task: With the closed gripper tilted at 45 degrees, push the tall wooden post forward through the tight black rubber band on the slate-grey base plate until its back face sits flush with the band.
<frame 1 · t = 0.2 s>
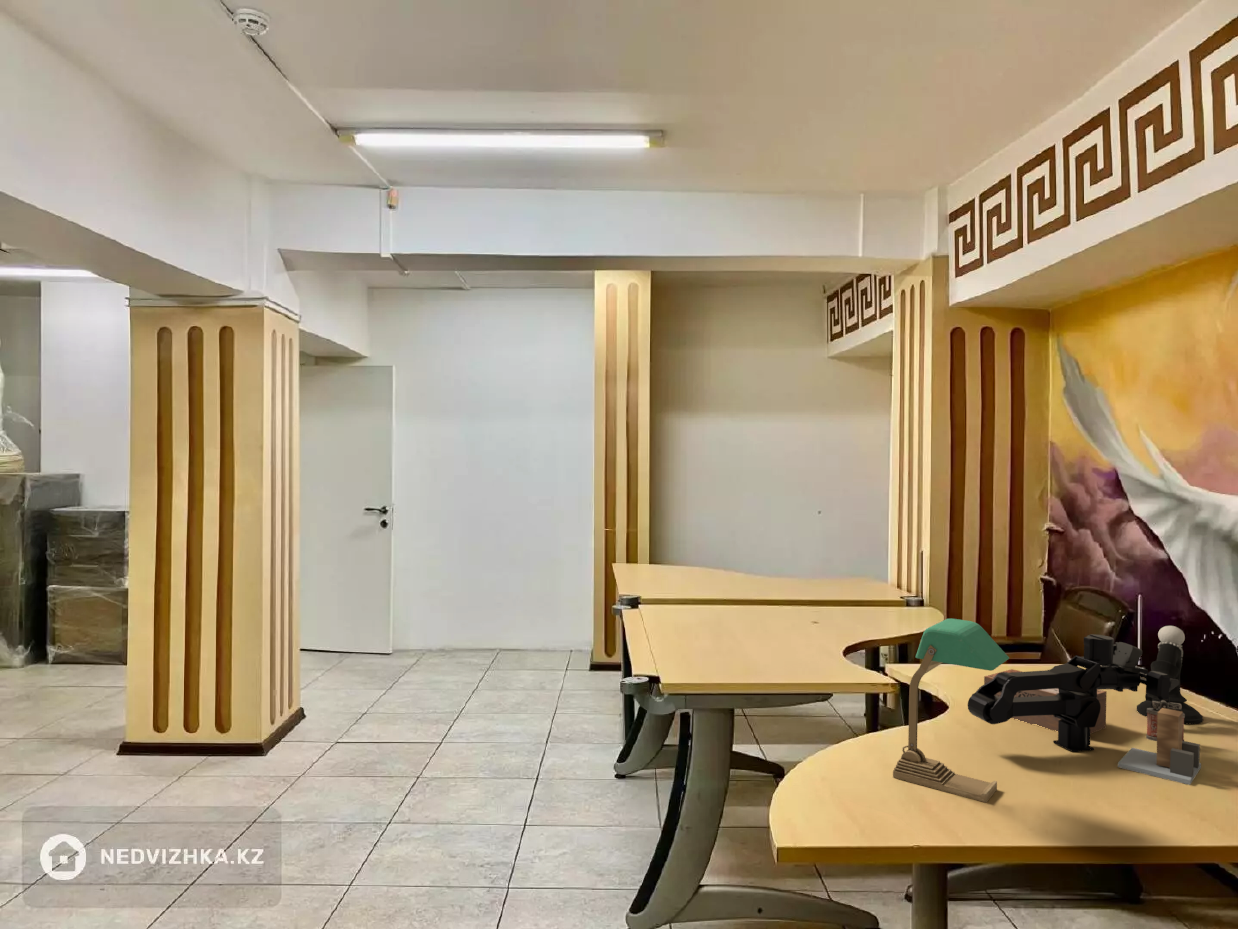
hand: (1162, 677, 200), 16 cm above the table, tool horizontal, fingers open, 9 cm apart
lighter: (1164, 741, 201), on the table
banker's lamp: (947, 785, 172), on the table
sculpture: (1165, 719, 219), on the table
tall wooden post: (1169, 738, 182), point 7 cm above the table, slide at 0.0 cm
tissue box cover: (1042, 720, 217), on the table
band housing: (1159, 767, 183), on the table
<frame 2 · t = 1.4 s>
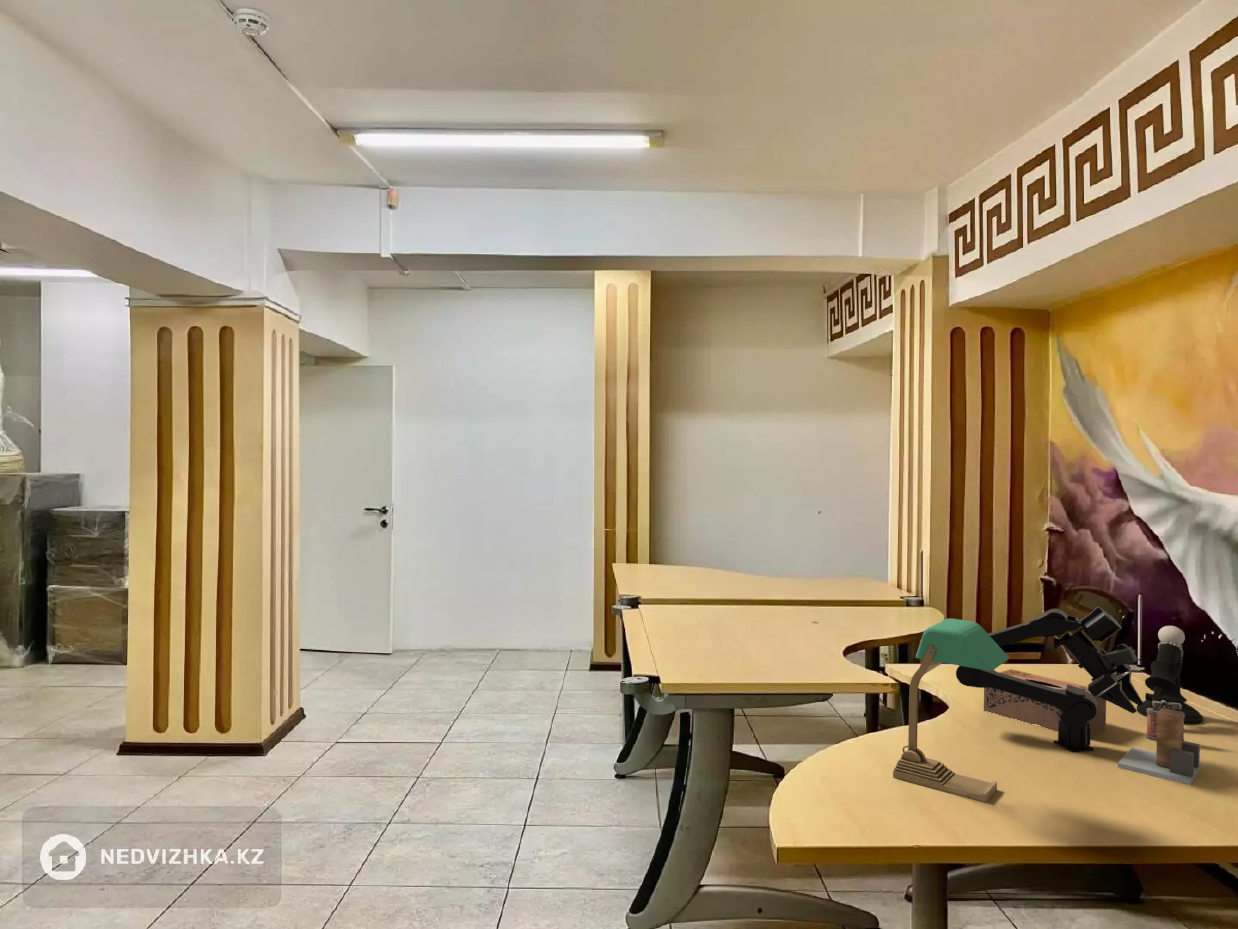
hand: (1138, 708, 187), 13 cm above the table, tool tilted 45°, fingers open, 8 cm apart
nothing on the table moved.
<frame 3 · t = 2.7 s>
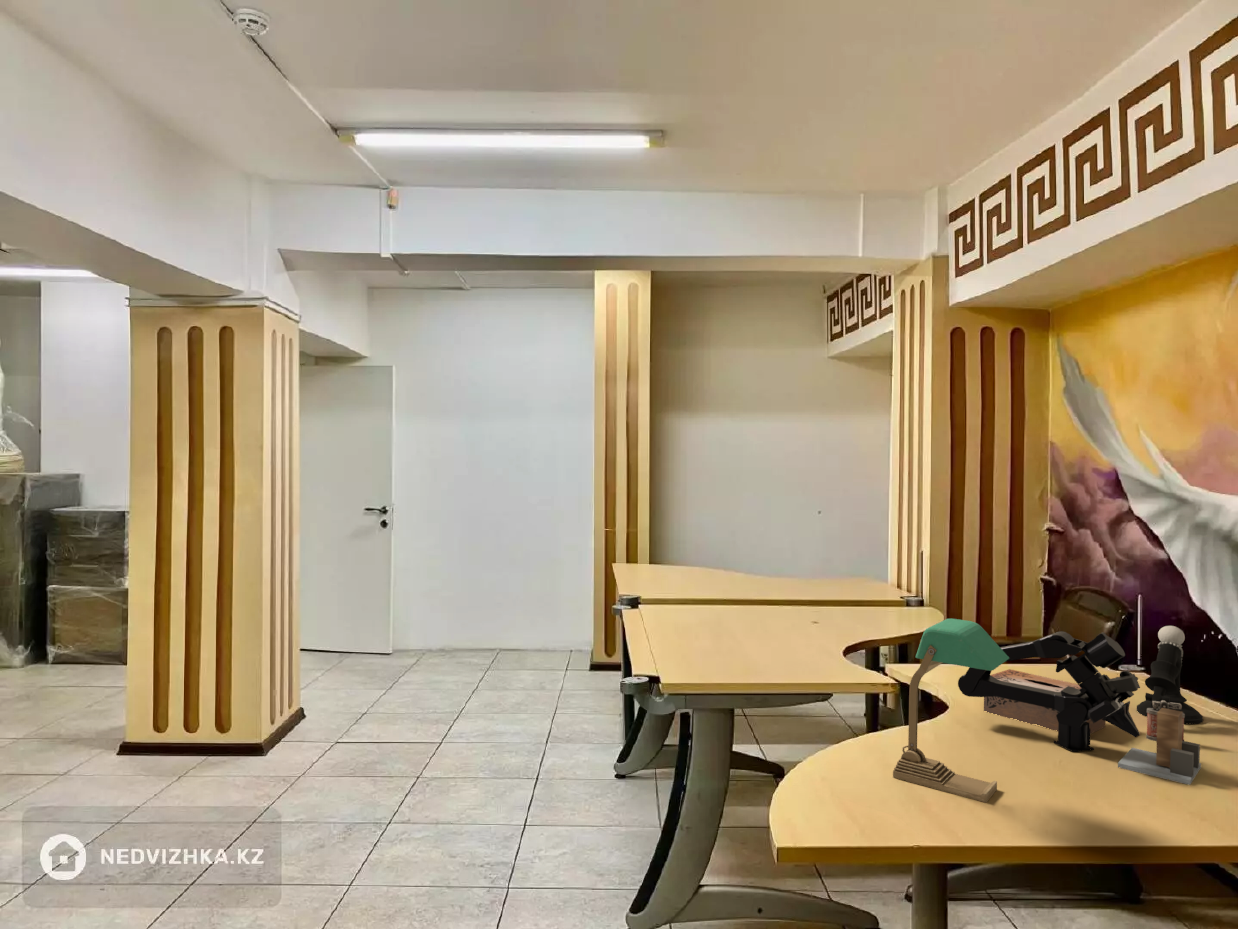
hand: (1138, 736, 186), 6 cm above the table, tool tilted 45°, fingers closed
nothing on the table moved.
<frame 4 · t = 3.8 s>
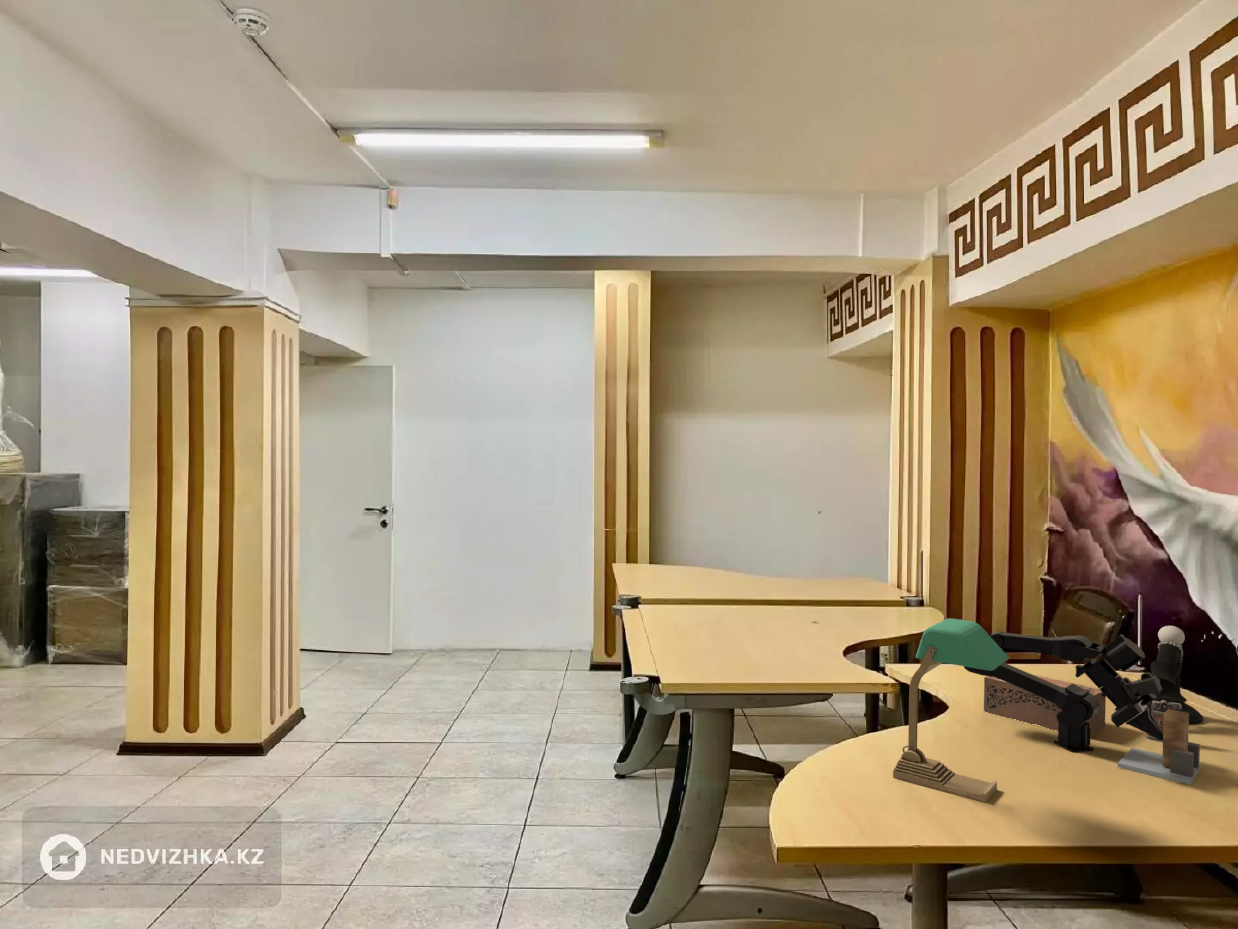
hand: (1163, 739, 183), 7 cm above the table, tool tilted 45°, fingers closed, pressing on tall wooden post
tall wooden post: (1175, 739, 181), point 7 cm above the table, slide at 1.2 cm, touching gripper
everything else where it was.
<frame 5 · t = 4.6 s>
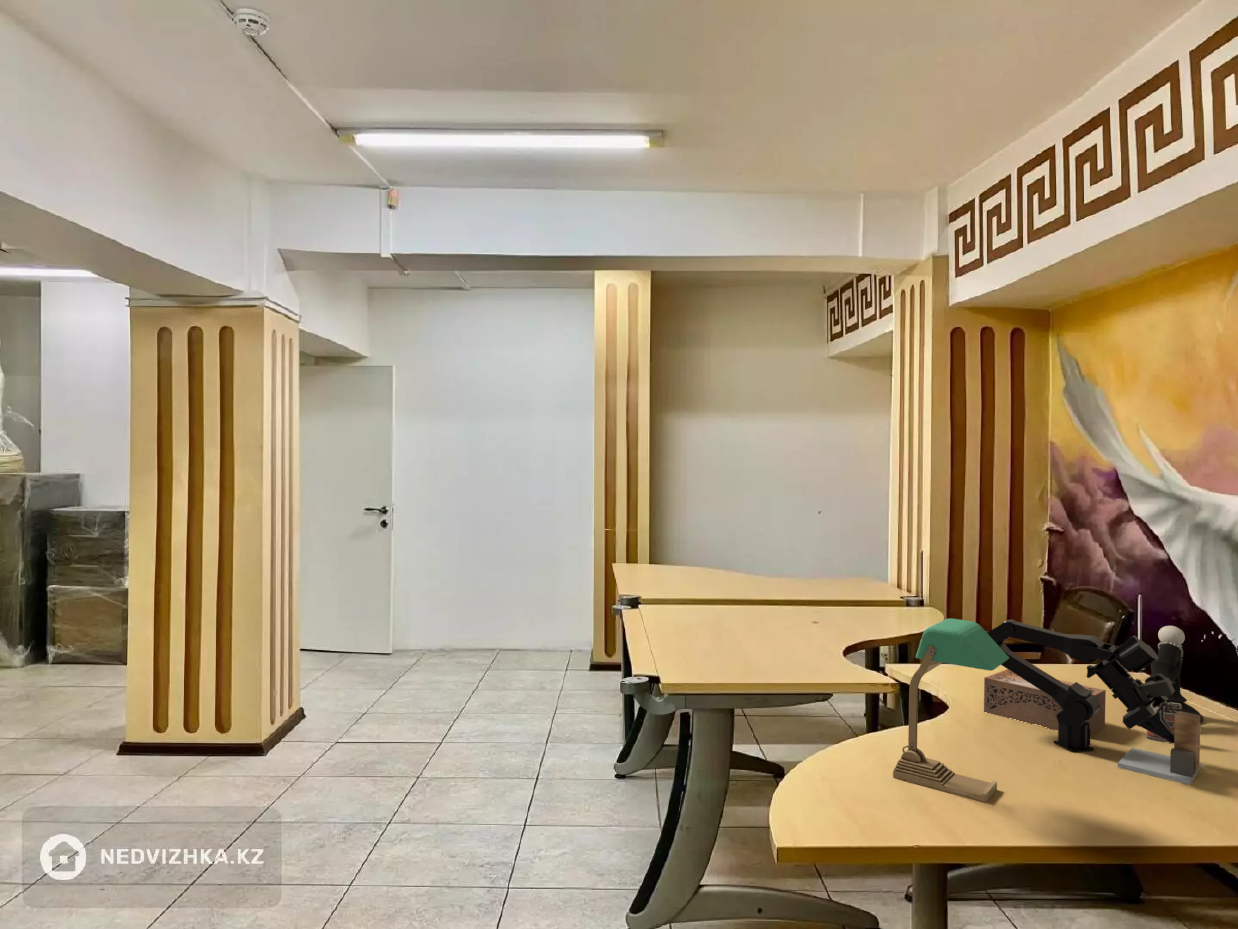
hand: (1175, 742, 181), 7 cm above the table, tool tilted 45°, fingers closed, pressing on tall wooden post
tall wooden post: (1187, 742, 180), point 7 cm above the table, slide at 3.3 cm, touching gripper
everything else where it was.
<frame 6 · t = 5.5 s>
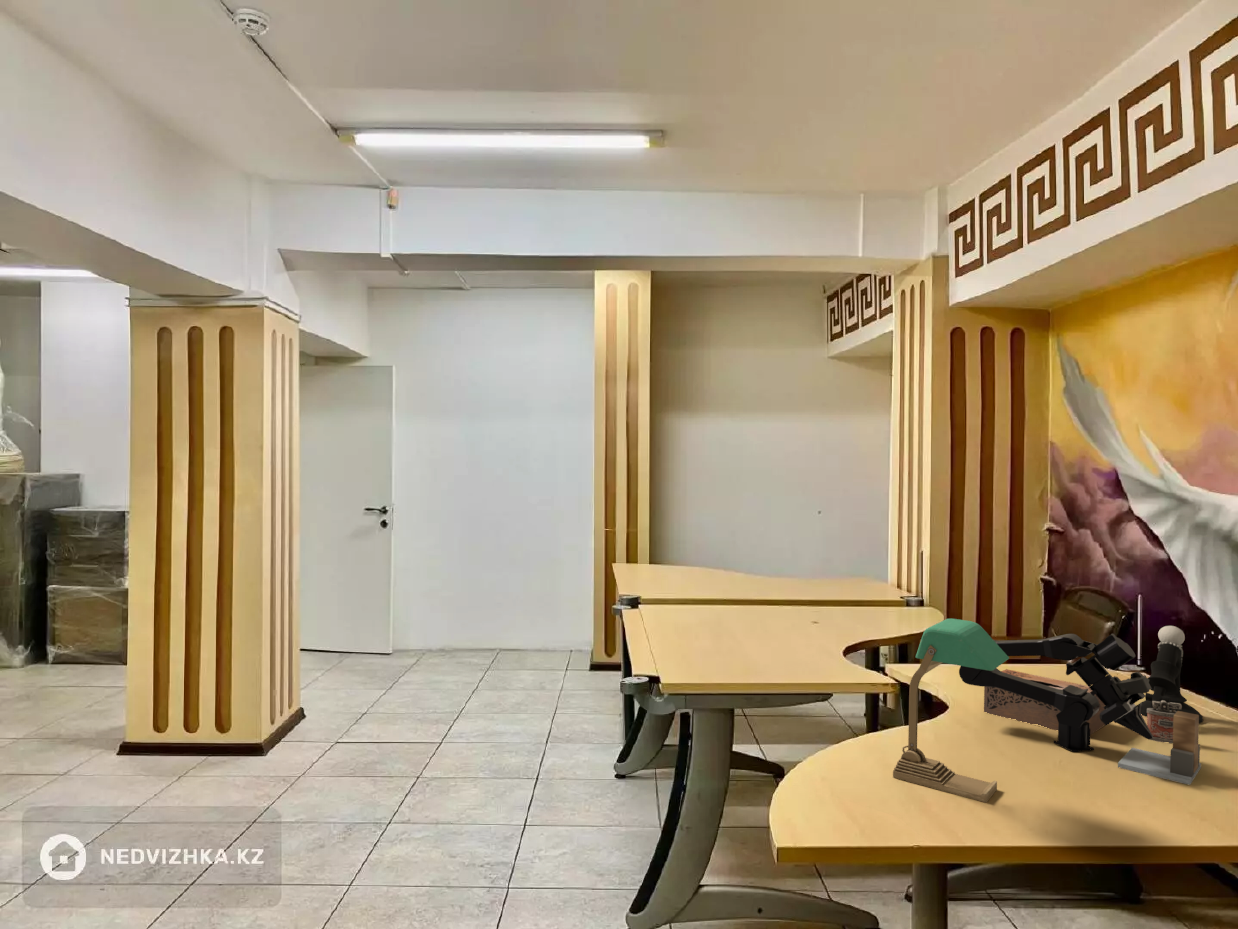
hand: (1151, 738, 184), 6 cm above the table, tool tilted 45°, fingers closed
tall wooden post: (1185, 741, 180), point 7 cm above the table, slide at 3.0 cm
everything else where it was.
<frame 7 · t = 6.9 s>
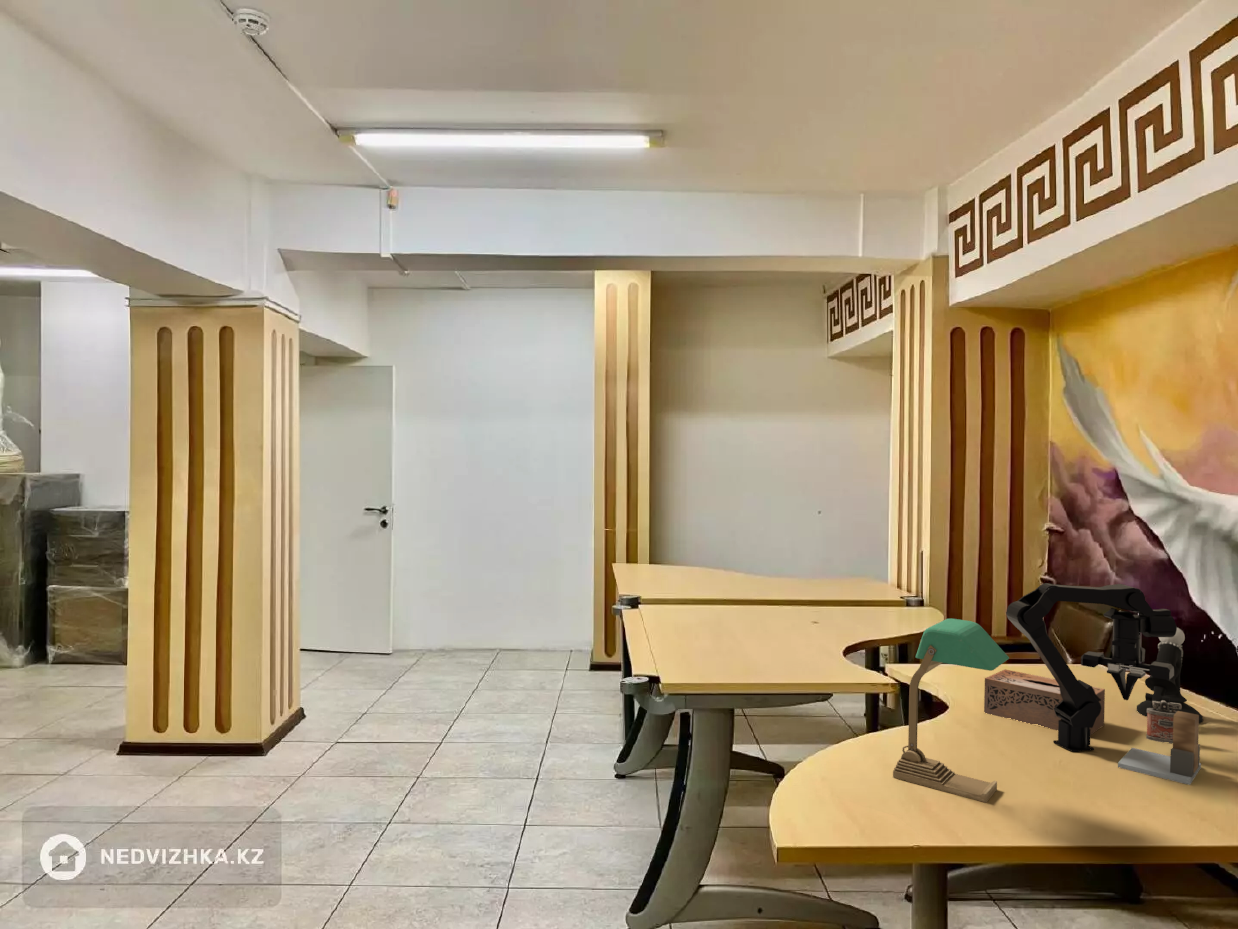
hand: (1126, 699, 195), 12 cm above the table, tool pointing down, fingers closed
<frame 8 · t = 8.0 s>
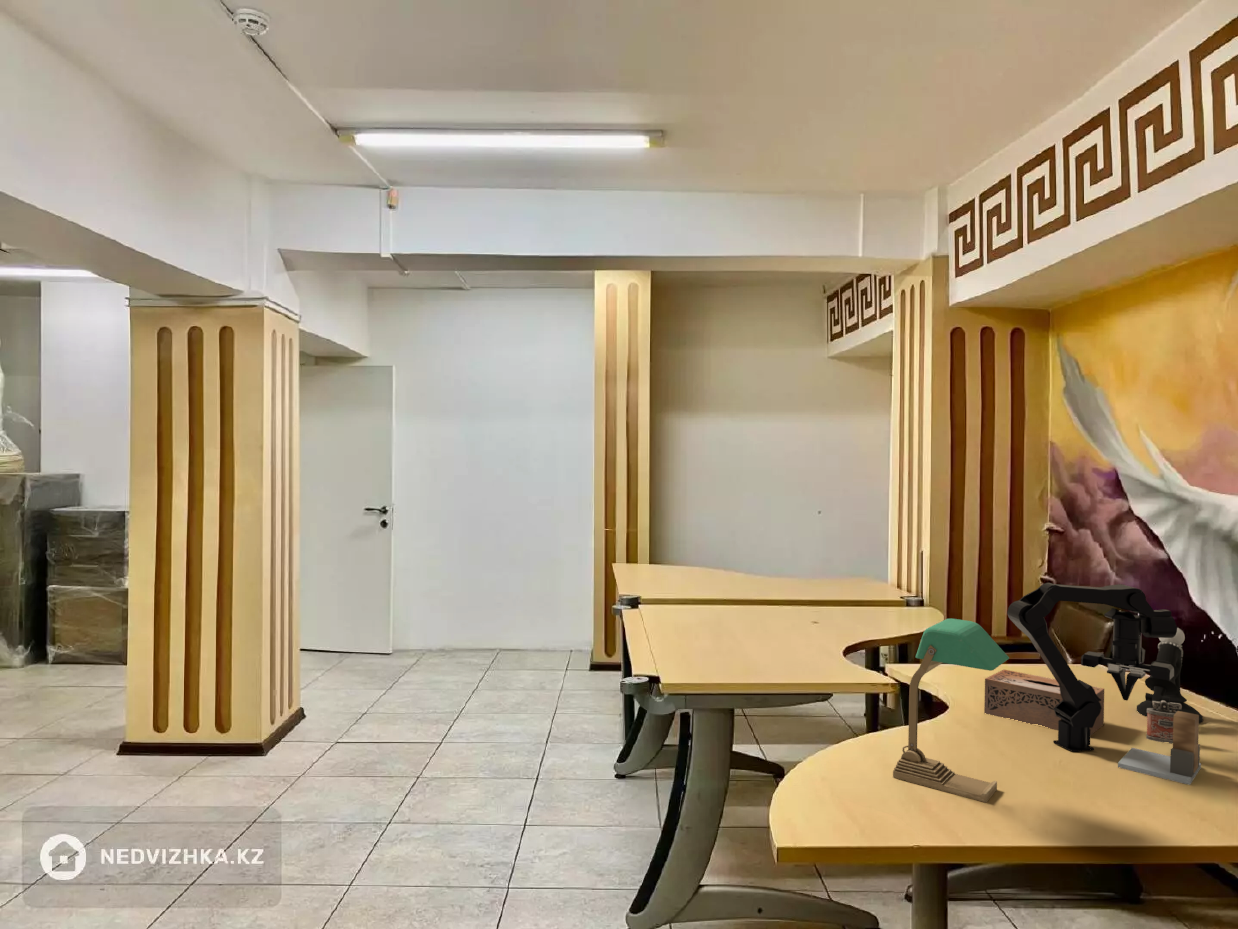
hand: (1125, 700, 195), 12 cm above the table, tool pointing down, fingers closed
at the end: tall wooden post slide at 3.0 cm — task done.
